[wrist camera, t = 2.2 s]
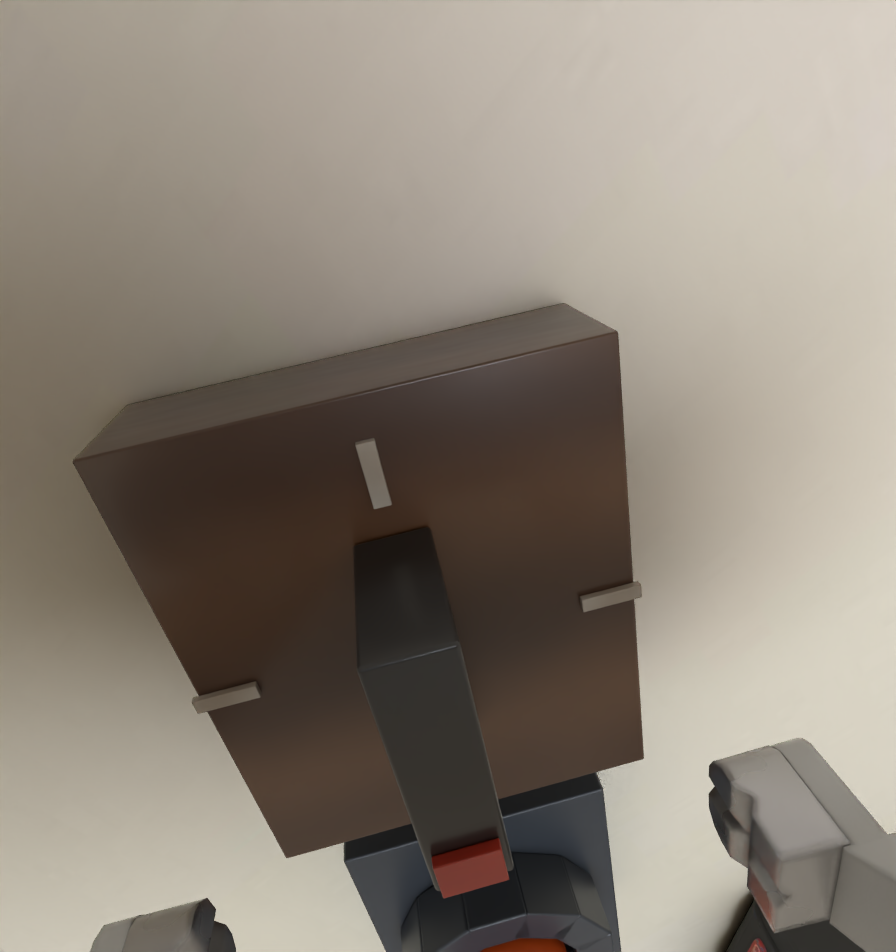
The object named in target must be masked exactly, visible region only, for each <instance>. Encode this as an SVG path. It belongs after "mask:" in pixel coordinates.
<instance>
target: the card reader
mask: <svg viewBox="0 0 896 952" xmlns="http://www.w3.org/2000/svg"><path fill="white" fill-rule="evenodd" d="M726 952H865V951H864V950H863V949H862V948H860V947H859V946H858V945H857V944H855V943H854V942H853V941H852V940H850V939H849V938H848V937H846V936H845V935H844V934H843V933H841V932H840V931H839V930H838V929H836V928H835V927H834V926H833V925H831V924H830V920H826V921H822V922H818V923H814V924H810V925H806V926H802V927H798V928H794V929H790V930H786V931H782V932H778V933H774V932H773V930H772V928H771V927H770V925H769V923H768V922H767V920H766V918H765V916H764V915H763V913H762V911H761V909H760V908H759V906H758V904H757V903H756V901H755V899H754V901H753V903H752V905H751V907H750V909H749V910H748V912H747V914H746V916H745V918H744V920H743V921H742V923H741V925H740V927H739V929H738V931H737V933H736V934H735V936H734V938H733V940H732V942H731V944H730V946H729V947H728V949H727V951H726Z"/></svg>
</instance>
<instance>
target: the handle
mask: <svg viewBox="0 0 896 952" xmlns="http://www.w3.org/2000/svg"><path fill="white" fill-rule="evenodd" d="M353 560H354V593H355V627H356V661H357V673H358V675H359V678H360V681H361V684H362V687H363V689H364V692H365V695H366V698H367V700H368V703H369V706H370V709H371V712H372V714H373V717H374V720H375V723H376V726H377V728H378V731H379V734H380V737H381V739H382V742H383V745H384V748H385V751H386V753H387V756H388V759H389V762H390V765H391V767H392V770H393V773H394V776H395V779H396V781H397V784H398V787H399V790H400V792H401V795H402V798H403V801H404V804H405V806H406V809H407V812H408V815H409V818H410V820H411V823H412V826H413V829H414V832H415V834H416V837H417V840H418V843H419V845H420V848H421V851H422V854H423V857H424V859H425V862H426V865H427V868H428V871H429V873H430V876H431V879H432V882H433V885H434V887H435V889H436V890H437V891H441V893H442V896H443V898H447V897H451V896H454V895H458V894H461V893H465V892H468V891H472V890H475V889H479V888H482V887H486V886H489V885H493V884H496V883H500V882H503V881H507V880H509V875H508V871H511V870H512V869H513V867H514V863H513V859H512V855H511V851H510V847H509V842H508V838H507V834H506V830H505V826H504V822H503V818H502V814H501V809H500V805H499V801H498V797H497V793H496V789H495V785H494V781H493V776H492V772H491V768H490V764H489V760H488V756H487V752H486V747H485V743H484V739H483V735H482V731H481V727H480V723H479V719H478V714H477V710H476V706H475V702H474V698H473V694H472V690H471V686H470V681H469V677H468V673H467V669H466V665H465V661H464V657H463V652H462V648H461V644H460V640H459V636H458V632H457V629H456V625H455V621H454V617H453V613H452V609H451V605H450V601H449V598H448V594H447V590H446V586H445V582H444V578H443V574H442V570H441V566H440V563H439V559H438V555H437V551H436V547H435V543H434V539H433V535H432V531H431V529H430V528H428V527H426V528H422V529H418V530H414V531H410V532H406V533H402V534H398V535H394V536H390V537H386V538H382V539H378V540H374V541H370V542H366V543H362V544H358V545H356V546H354V548H353Z"/></svg>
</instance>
